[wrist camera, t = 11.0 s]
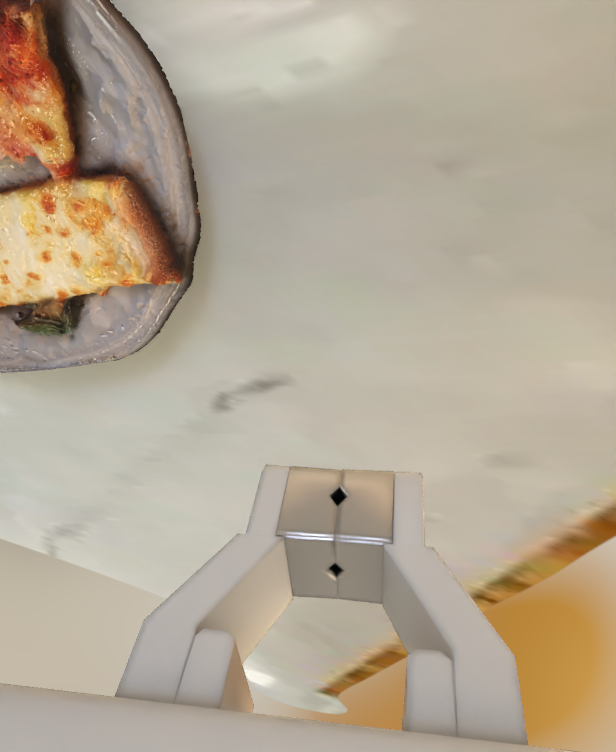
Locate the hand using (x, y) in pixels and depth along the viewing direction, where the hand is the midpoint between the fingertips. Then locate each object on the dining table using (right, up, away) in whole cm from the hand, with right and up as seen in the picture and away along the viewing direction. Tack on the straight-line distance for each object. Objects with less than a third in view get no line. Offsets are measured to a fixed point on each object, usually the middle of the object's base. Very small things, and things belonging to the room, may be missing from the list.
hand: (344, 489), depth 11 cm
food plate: (-18, +13, +20) cm, 30 cm away
